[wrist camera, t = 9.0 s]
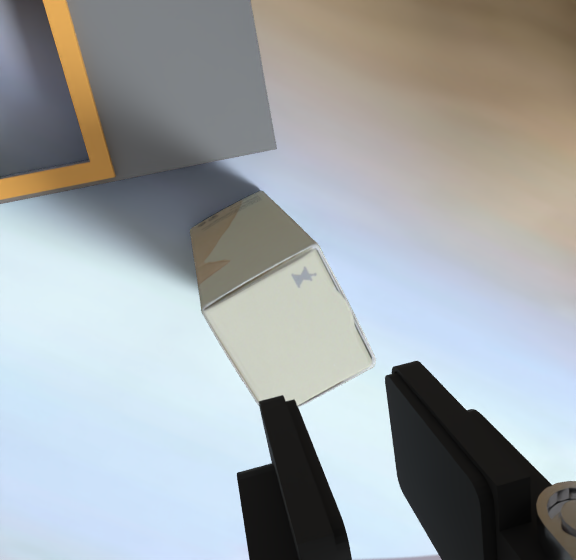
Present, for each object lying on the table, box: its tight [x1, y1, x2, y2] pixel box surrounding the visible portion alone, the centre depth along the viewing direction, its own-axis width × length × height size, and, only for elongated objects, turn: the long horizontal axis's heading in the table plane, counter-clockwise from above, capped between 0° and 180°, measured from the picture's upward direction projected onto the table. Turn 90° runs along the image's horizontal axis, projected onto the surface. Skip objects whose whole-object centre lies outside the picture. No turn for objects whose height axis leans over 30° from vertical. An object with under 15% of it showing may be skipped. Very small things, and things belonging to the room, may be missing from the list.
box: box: [190, 191, 376, 407], centre depth 22 cm, size 5×4×11 cm
